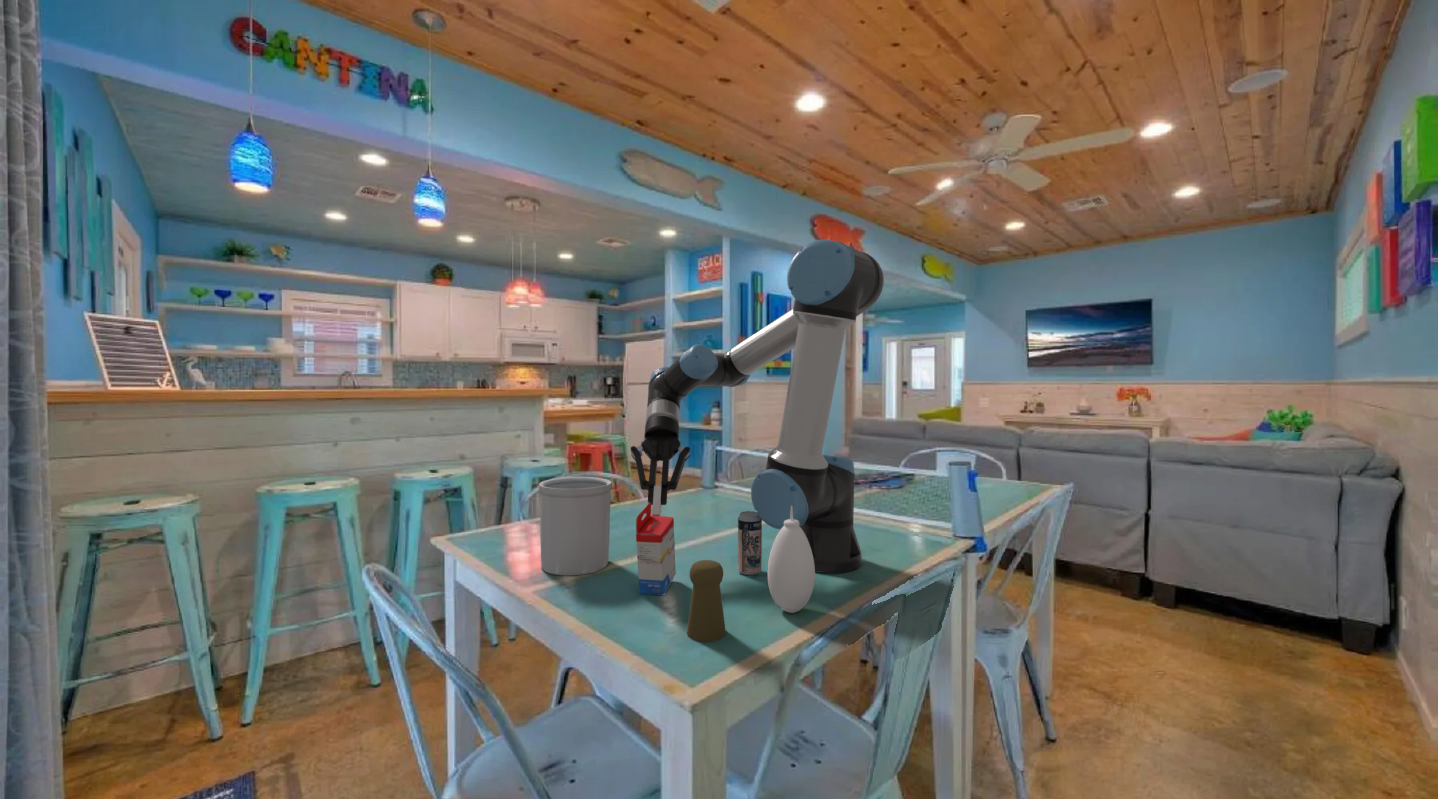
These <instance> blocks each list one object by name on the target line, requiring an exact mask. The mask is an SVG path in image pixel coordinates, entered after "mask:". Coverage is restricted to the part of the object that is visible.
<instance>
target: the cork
mask: <svg viewBox="0 0 1438 799" xmlns="http://www.w3.org/2000/svg"><path fill="white" fill-rule="evenodd" d="M723 577H724V568H723V566H722V565H721V564H720V563H719V562H717V560H710V559H702V560H697V561H695V562H694V563H693V564H692V565H691V567H690V569H689V578H690V581H691V584H692V590H691V596H690V597H691V599H690V604H689V605H690V606H689V613H688V620H687V621H688V622H687V628H686V635H687V638H689V639H690V640H693V641H695V642H699V643H700V642H701V643H710V642H717V641H720V640H721V639H723V638H725V637H726V633H727V632H726V624H725V616H724V607H723V600H722V593H721V591H722V590H721V585H720V584H721V583H722V582H723V580H724V579H723Z"/></svg>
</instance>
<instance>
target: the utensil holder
mask: <svg viewBox="0 0 1438 799" xmlns="http://www.w3.org/2000/svg"><path fill="white" fill-rule="evenodd" d="M612 488H613V482H612V481H611V480H610V479H607V478H602V477H593V476H569V477H566V476H565V477H558V478H551V479H546V480H543V481H541V482H539V484H538V491H539V494H540V495H539V496H540V497H539V500H540V502H539V503H540V504H539V507H540V508H539V509H540V511H539V513H540V514H539V515H540V516H539V518H540V519H539V520H540V522H539V523H540V524H539V525H540V535H539V536H540V565H541V566H540V567H541V569H542V570H543V571H544V572H546V573H548V574H550V575H557V576H581V575H587V574H592V573H595V572H598V571H600V570H602V569H604V568H605V567H607V566H608V564H609V554H610V552H609V551H610V550H609V549H610V536H611V535H610V527H611V525H610V524H611V498H612V497H611V494H612V493H611V491H612Z"/></svg>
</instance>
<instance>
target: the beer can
mask: <svg viewBox="0 0 1438 799" xmlns="http://www.w3.org/2000/svg"><path fill="white" fill-rule="evenodd" d="M762 522H763V520H762V519H761V518H760V517H759V515H758V512H757V511H755V510H754V511H751V510H747V511H742V512H740V513H739V515H738V518H737V570H738V572H739V573H740V574H742V575H745V576H755V575H758V574H759V573H761V572H762V557H763V556H762V551H763V550H762V549H763V548H762V545H763V544H762V542H763V541H762V538H763V537H762V533H763V532H762V531H763V529H762V527H763V524H762Z"/></svg>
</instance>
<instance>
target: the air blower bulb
mask: <svg viewBox="0 0 1438 799" xmlns="http://www.w3.org/2000/svg"><path fill="white" fill-rule="evenodd" d="M799 525H800V524H799V521H798V520H794V519H793V507H792V505H791V511H790V519H788V520H785V521H784V526H783V527H782V528H781V529H779V531H778V533H777V535H776V537H775V538H774V540H773V543H772V546H771V549H770V554H769V556H768V562H767V584H768V585H767V586H768V589H769V592H770V595H771V598H772V600H773V601H774V603H775V605H776V606H779V607H780V609H781V610H783V611H784V612H786V613H789V614H794V613H796V612H799V611H801V610H802V608H804V607H805V606H807V604H808V602H809V601H810V599H811V597H812V595H813V591H814V587H815V582H816V581H815V580H816V571H815V566H814V559H813V554H812V550H811V547H810V544H809V542H808V539H807V537H806V535H805V533H804V532H803V530H802V529H801V528H800V527H799Z"/></svg>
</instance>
